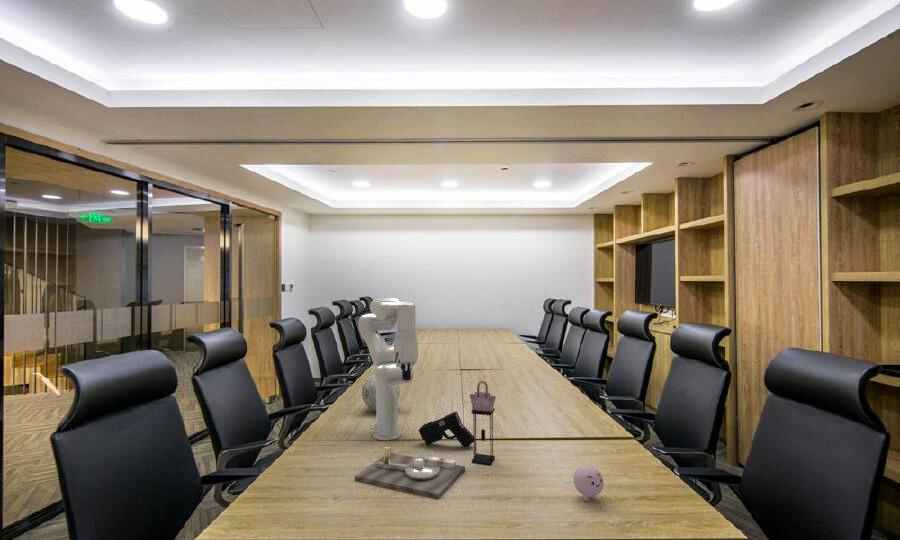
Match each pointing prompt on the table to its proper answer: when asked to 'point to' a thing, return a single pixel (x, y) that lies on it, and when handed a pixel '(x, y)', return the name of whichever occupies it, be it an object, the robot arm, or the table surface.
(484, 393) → the handbag
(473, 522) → the table surface
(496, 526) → the table surface
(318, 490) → the table surface
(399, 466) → the crank handle
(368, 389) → the decorative sphere
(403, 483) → the level board
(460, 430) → the toy
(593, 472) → the toy
